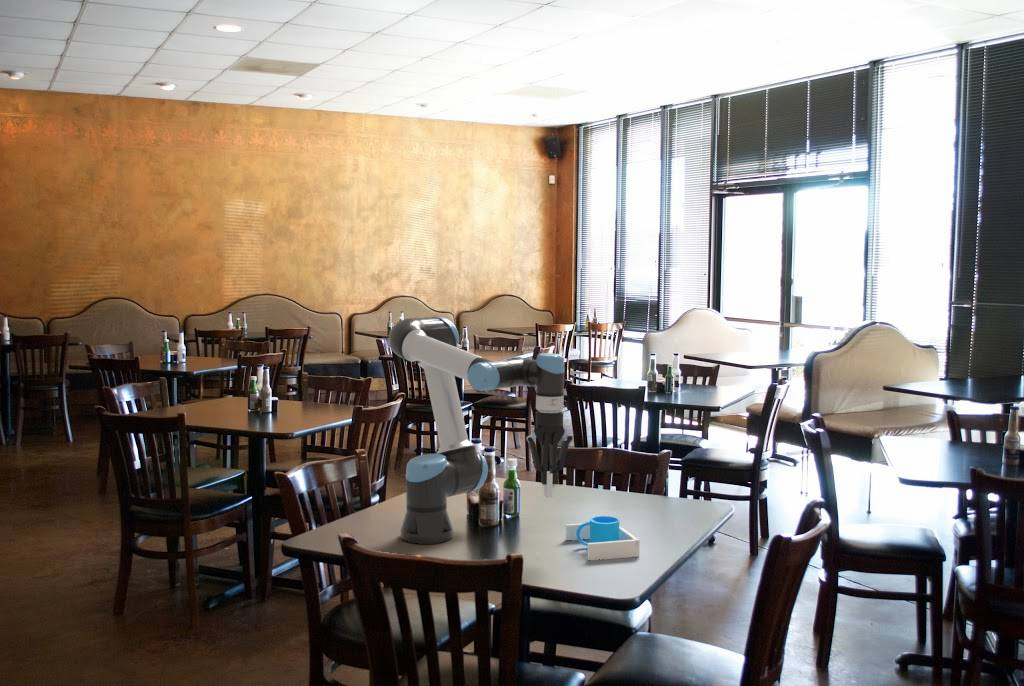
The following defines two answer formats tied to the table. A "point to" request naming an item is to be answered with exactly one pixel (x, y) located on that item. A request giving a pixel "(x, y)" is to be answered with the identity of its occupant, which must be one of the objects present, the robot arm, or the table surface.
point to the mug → (601, 529)
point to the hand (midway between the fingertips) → (548, 495)
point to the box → (606, 544)
